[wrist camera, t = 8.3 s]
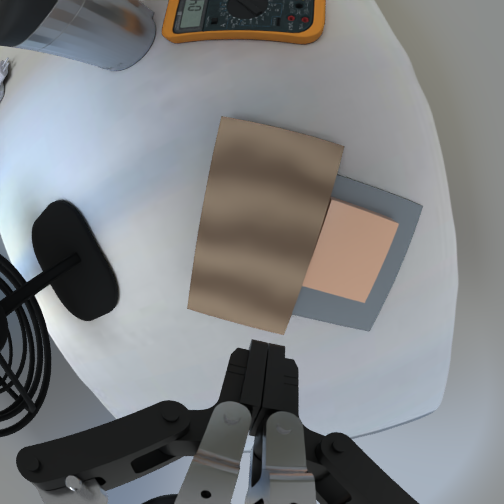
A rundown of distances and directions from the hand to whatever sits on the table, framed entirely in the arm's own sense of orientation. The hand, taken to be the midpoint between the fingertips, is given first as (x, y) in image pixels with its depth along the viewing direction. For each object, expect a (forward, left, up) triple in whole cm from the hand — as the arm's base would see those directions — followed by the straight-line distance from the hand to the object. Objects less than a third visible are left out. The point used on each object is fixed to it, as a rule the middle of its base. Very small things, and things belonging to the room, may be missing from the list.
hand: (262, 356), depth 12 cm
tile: (0, +8, -20) cm, 22 cm away
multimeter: (-25, -10, -22) cm, 34 cm away
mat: (+1, +10, -21) cm, 23 cm away
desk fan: (+14, -31, -21) cm, 40 cm away
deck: (0, -2, -21) cm, 21 cm away
